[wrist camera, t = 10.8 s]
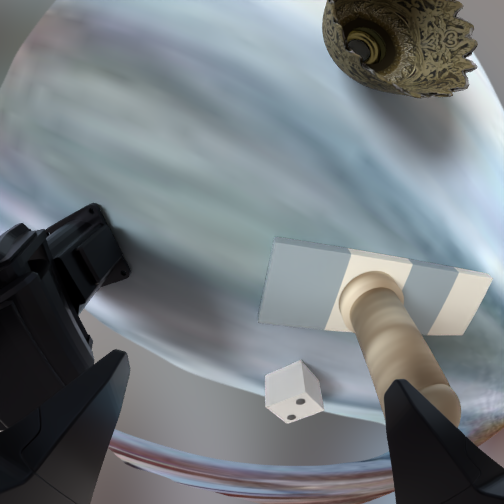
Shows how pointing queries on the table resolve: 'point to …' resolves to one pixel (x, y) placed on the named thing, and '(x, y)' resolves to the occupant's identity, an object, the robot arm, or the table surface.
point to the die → (293, 392)
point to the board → (351, 265)
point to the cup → (402, 44)
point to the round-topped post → (394, 341)
